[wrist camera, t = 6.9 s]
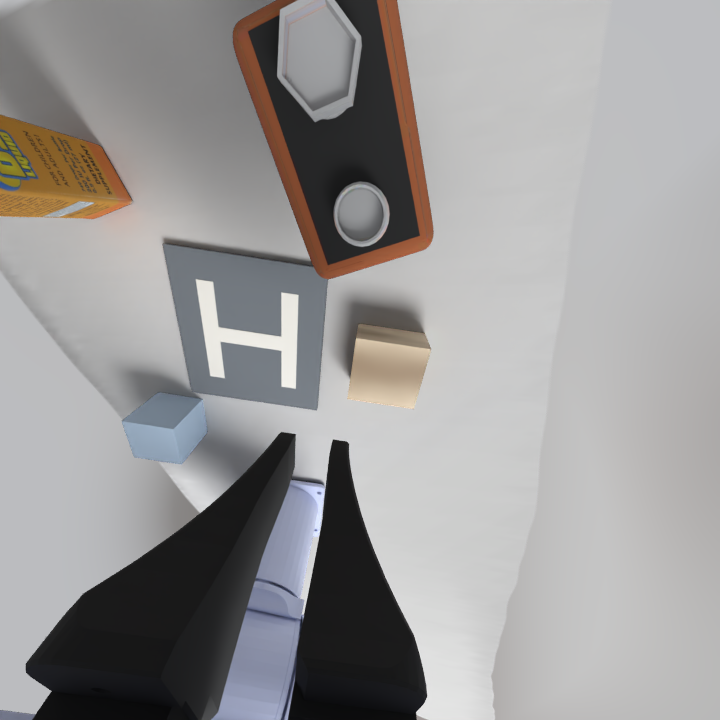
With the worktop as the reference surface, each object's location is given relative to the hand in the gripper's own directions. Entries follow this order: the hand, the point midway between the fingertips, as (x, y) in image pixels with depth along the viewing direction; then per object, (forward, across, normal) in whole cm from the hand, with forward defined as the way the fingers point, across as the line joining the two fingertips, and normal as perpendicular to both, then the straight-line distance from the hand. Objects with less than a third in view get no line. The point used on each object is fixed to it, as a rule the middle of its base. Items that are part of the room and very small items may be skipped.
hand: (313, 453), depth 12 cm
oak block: (+11, -4, 0) cm, 11 cm away
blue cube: (+10, +14, +9) cm, 20 cm away
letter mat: (+10, +7, 0) cm, 13 cm away
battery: (+11, 0, -11) cm, 15 cm away
